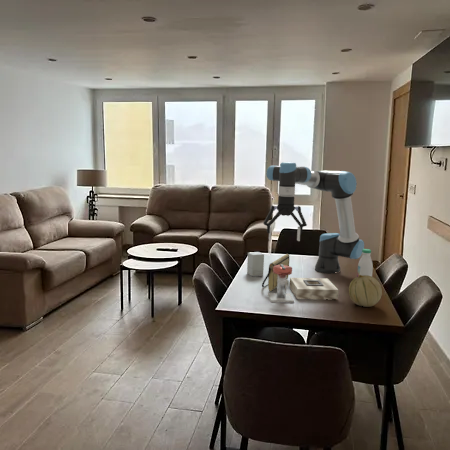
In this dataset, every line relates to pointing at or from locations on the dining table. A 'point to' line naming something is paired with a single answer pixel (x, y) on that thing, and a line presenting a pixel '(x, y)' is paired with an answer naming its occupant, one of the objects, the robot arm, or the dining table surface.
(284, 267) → the screw pin
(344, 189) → the robot arm
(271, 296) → the rubber mat
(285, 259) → the clutch purse
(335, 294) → the block
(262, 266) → the supplement box
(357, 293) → the cantaloupe
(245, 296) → the dining table surface
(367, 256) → the milk bottle
